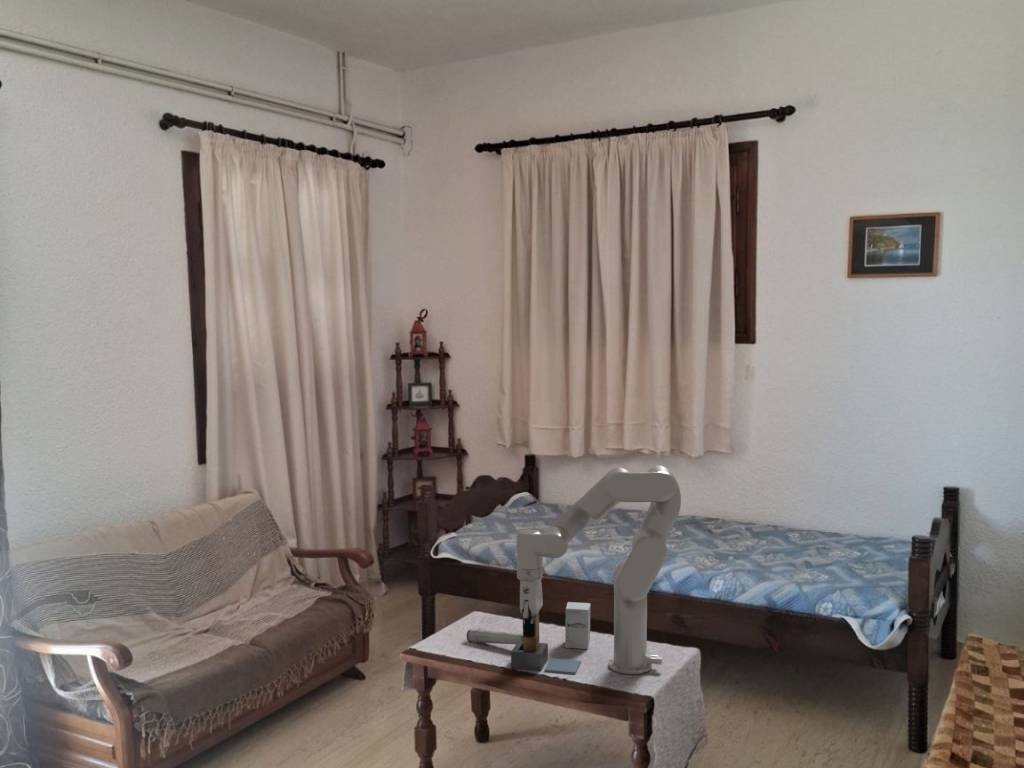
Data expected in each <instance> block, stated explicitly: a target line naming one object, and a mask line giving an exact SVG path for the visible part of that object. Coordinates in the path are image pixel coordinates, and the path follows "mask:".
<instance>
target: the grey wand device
mask: <svg viewBox="0 0 1024 768" xmlns="http://www.w3.org/2000/svg"><path fill="white" fill-rule="evenodd" d="M466 640H467V641H468V642H469V641H471V642H470V643H474V642H477V644H478V643H479V644H498V645H499V644H501V645H516V644H517V642H518V641H523V633H513V632H503V631H494V630H487V629H486V630H485V629H481V628H478V629H471V628H470V629H469V630H467V633H466Z"/></svg>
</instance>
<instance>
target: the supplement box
mask: <svg viewBox="0 0 1024 768" xmlns="http://www.w3.org/2000/svg"><path fill="white" fill-rule="evenodd" d="M591 605H592V604H591V603H590V602H574V601H573V602H572V601H567V603H566V607H565V622H564V623H565V627H564V628H565V630H564V632H565V635H564V636H565V637H564V639H565V640H564V642H565V643H564V646H565V647H564V648H565V649H567V648H569V649H579V650H580V649H582V650H583V649H584V650H589V646H590V642H591V641H590V640H591Z"/></svg>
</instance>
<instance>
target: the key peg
mask: <svg viewBox="0 0 1024 768" xmlns="http://www.w3.org/2000/svg"><path fill="white" fill-rule="evenodd" d="M539 612H540V611H539ZM539 612H538V613H537V614H536V615H535V614H534V619H533V623H535V636H534V637H524V625H523V624H522V634H523V650H525V651H536V652H537V650H538V649H539V647H540V645H539V643H540V613H539ZM529 613H532V612H531V611H529ZM529 617H530V618H531V615H529ZM523 620H524V619H523V618H522V621H523Z"/></svg>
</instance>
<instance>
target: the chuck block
mask: <svg viewBox="0 0 1024 768" xmlns="http://www.w3.org/2000/svg"><path fill="white" fill-rule="evenodd" d="M548 644H549V643H548V642H547V643H546V642H539V645H540V647H539V649H538V650H537V652H536V651H525V650H523V641H518V642H517V644H514V647H512V649H511V651H510V669H513V670H514V669H515V670H516V669H517V670H527V671H536V672H542V671H543V669H544V667H546V666H545V665H546V664H547V662H548V661H549V660H548V659H549V653H548V652H549V651H548V650H549V645H548Z"/></svg>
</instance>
